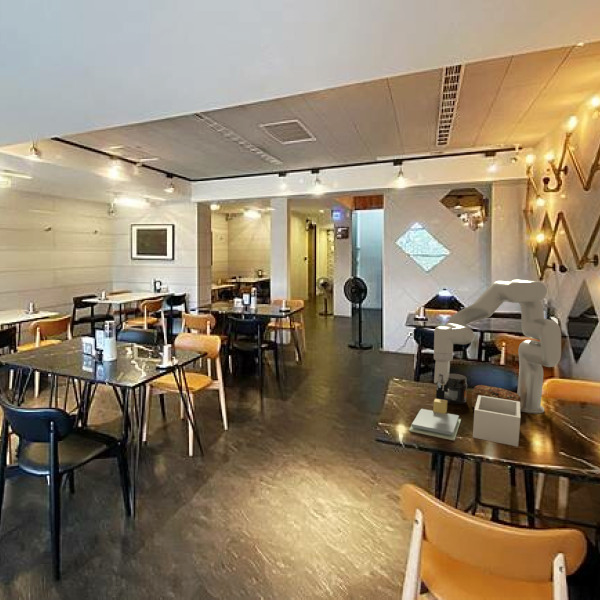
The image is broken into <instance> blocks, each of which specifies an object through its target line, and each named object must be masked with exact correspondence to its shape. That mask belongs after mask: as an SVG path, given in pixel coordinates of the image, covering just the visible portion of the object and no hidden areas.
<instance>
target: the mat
mask: <svg viewBox="0 0 600 600" xmlns="http://www.w3.org/2000/svg"><path fill="white" fill-rule="evenodd" d="M461 422H462V418H459V419H458V422H457V425H456V428H455V431H454V434H453V435H446V434H441V433H436V432H431V431H427V430H422V429H417V428H414V427H412V424H411V425H410V427H409V429H408V432H411V433H416V434H422V435H426V436H431V437H436V438H440V439H444V440H445V439H446V440H449V441H456V439H457V438H456V437H457V434H458V431H459V428H460V425H461Z"/></svg>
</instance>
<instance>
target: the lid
mask: <svg viewBox="0 0 600 600" xmlns="http://www.w3.org/2000/svg"><path fill="white" fill-rule="evenodd" d="M447 410H448V402H447V400H442V399H437V398H434V400H433V409H425V408H421V409H419V411H418V413H417V415H416V417H415V418H414V420H413V421H412V423H411V425H412V427H414V428H417V429H422V430H427V431H431V432H436V433H441V434H446V435H453V434H454V431H455V428H456V425H457V422H458V419H460V415H458V414H454V413H448V411H447Z"/></svg>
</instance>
